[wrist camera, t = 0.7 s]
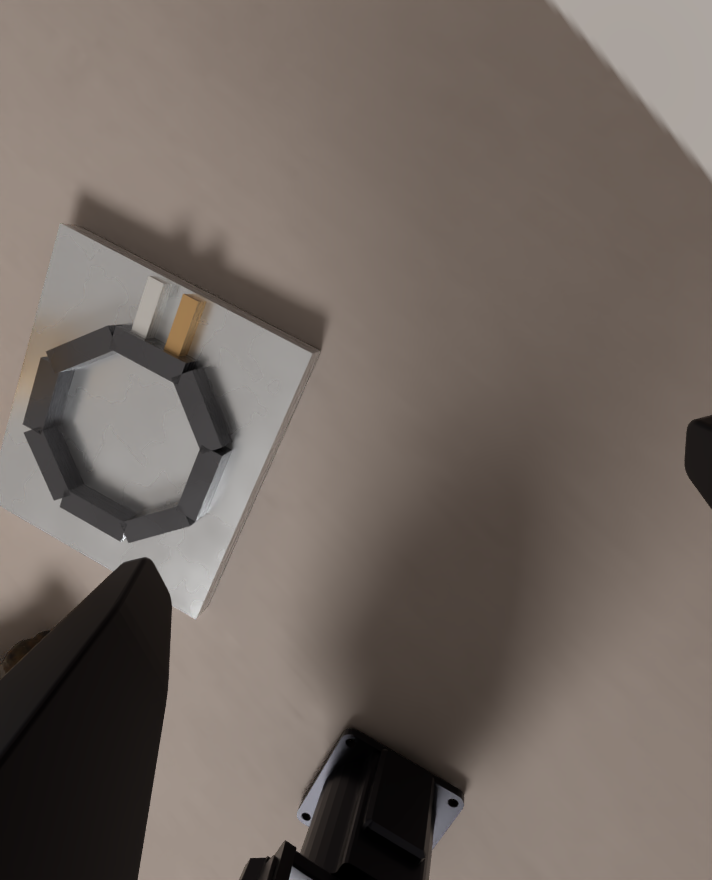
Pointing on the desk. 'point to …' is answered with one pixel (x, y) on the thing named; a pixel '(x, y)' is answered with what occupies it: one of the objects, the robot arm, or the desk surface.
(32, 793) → the robot arm
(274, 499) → the desk surface
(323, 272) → the desk surface
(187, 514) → the plate
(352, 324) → the desk surface
